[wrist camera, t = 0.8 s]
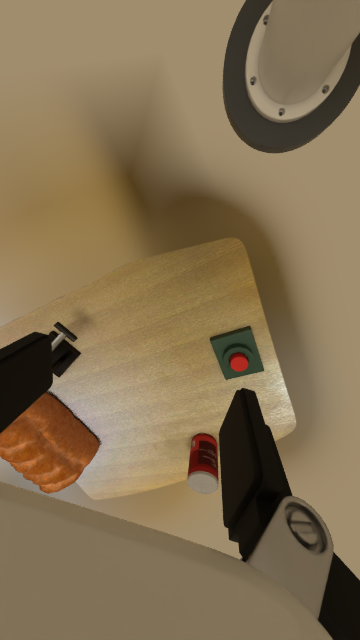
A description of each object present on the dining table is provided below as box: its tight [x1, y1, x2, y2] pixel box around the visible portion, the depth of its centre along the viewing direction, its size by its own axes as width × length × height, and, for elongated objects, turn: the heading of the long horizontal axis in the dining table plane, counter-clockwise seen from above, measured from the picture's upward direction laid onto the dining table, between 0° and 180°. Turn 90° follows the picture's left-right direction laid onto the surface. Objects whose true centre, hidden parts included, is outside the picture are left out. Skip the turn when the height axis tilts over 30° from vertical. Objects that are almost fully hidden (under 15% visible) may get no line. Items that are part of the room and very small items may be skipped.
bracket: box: [48, 331, 81, 377], centre depth 48 cm, size 11×9×14 cm
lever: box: [52, 322, 77, 351], centre depth 43 cm, size 18×5×2 cm, turn 136°
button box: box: [210, 326, 264, 380], centre depth 45 cm, size 11×9×4 cm
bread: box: [0, 393, 99, 493], centre depth 58 cm, size 14×26×16 cm, turn 35°
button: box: [230, 353, 248, 371], centre depth 43 cm, size 4×4×2 cm
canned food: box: [188, 434, 218, 494], centre depth 54 cm, size 8×8×11 cm
